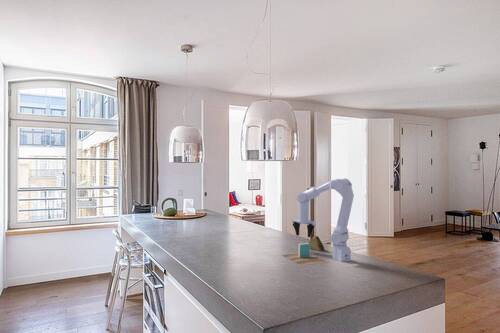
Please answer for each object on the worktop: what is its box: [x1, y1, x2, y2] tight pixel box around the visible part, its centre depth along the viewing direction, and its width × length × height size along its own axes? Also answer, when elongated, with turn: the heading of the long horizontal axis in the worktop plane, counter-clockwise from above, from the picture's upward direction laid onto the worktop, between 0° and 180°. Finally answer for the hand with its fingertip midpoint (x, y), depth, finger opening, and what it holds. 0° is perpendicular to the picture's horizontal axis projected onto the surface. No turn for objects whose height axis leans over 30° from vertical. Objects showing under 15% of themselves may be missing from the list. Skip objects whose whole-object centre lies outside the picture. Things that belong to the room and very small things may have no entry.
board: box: [281, 252, 329, 266], centre depth 177 cm, size 22×16×1 cm
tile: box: [298, 242, 311, 258], centre depth 181 cm, size 2×6×7 cm, turn 113°
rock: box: [308, 235, 326, 252], centre depth 200 cm, size 11×9×10 cm
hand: (303, 236), depth 193 cm, fingers open, 7 cm apart
